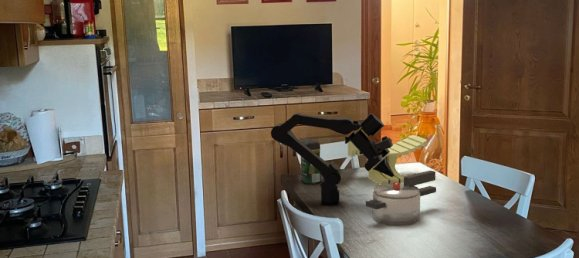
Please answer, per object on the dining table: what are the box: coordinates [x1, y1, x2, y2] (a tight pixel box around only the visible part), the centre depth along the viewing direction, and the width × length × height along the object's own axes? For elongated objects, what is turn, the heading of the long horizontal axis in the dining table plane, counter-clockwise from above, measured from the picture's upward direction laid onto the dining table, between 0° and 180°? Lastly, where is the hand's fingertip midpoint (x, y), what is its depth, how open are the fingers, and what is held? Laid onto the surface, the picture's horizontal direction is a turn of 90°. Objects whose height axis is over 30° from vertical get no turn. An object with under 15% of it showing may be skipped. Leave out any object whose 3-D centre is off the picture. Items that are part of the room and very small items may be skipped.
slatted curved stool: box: [347, 134, 428, 185], centre depth 256 cm, size 30×16×18 cm, turn 105°
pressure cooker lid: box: [373, 170, 436, 199], centre depth 206 cm, size 27×15×4 cm, turn 127°
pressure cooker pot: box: [365, 185, 437, 227], centre depth 206 cm, size 31×16×9 cm, turn 126°
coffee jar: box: [300, 138, 322, 185], centre depth 255 cm, size 10×8×19 cm
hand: (393, 176), depth 216 cm, fingers closed
